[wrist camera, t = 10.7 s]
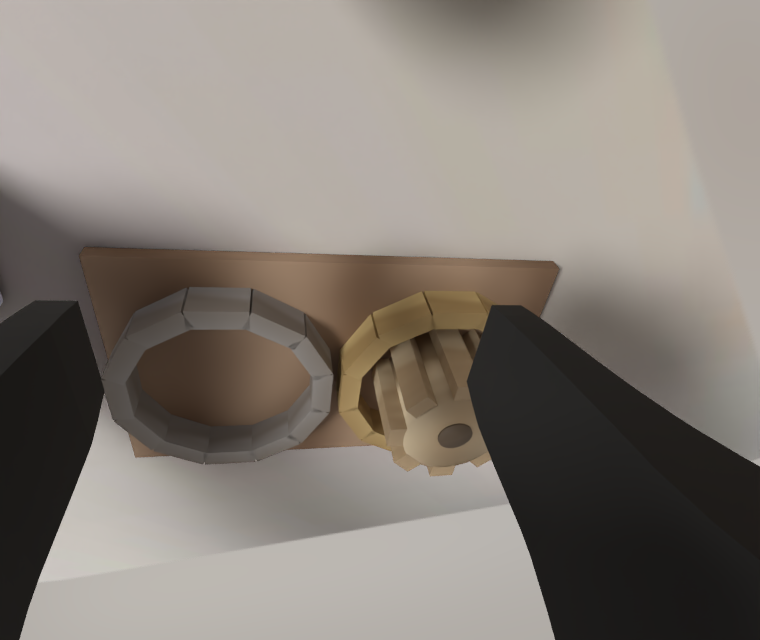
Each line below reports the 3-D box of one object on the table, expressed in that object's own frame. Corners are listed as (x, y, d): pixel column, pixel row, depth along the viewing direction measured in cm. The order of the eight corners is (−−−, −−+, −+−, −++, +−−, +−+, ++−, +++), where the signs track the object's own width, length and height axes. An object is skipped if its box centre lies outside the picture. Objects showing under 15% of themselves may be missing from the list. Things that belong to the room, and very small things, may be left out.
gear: (366, 408, 24) (380, 481, 20) (380, 319, 20) (399, 391, 17) (471, 404, 25) (499, 473, 21) (500, 320, 21) (539, 387, 18)
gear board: (138, 447, 24) (127, 485, 22) (84, 246, 17) (63, 280, 15) (485, 430, 27) (498, 462, 26) (552, 261, 21) (576, 289, 19)
